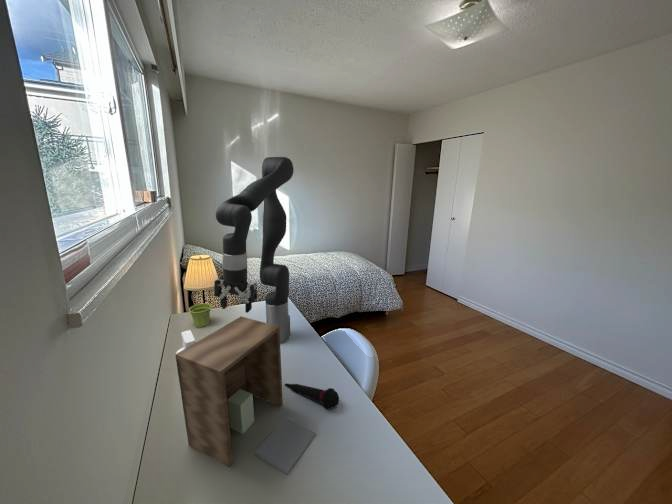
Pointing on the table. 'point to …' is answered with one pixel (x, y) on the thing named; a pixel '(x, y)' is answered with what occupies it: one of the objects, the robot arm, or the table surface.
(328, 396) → the microphone
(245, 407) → the sage block
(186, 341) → the cylinder with rectangular tab
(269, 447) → the slate mat
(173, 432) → the table surface
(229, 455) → the walnut cubby
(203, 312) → the plant pot
